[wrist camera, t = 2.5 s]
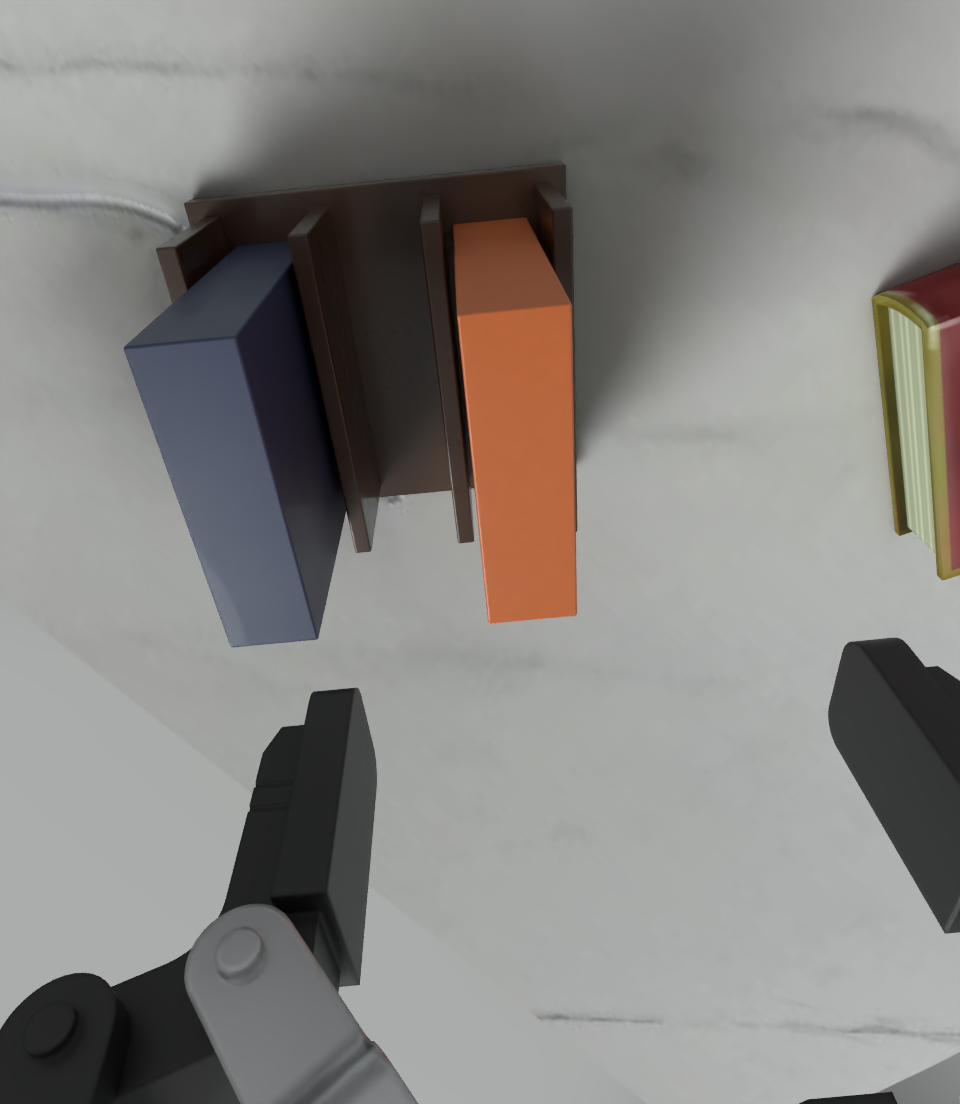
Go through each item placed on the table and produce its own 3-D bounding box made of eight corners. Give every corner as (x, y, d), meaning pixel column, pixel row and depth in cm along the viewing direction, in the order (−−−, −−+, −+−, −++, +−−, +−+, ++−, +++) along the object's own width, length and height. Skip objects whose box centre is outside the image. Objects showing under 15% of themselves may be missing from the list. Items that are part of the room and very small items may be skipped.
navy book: (294, 473, 31) (230, 648, 22) (236, 245, 26) (122, 346, 17) (355, 468, 31) (318, 640, 22) (310, 238, 26) (235, 335, 17)
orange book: (475, 456, 31) (488, 624, 22) (452, 224, 26) (456, 314, 17) (537, 450, 31) (577, 616, 22) (526, 216, 26) (572, 302, 17)
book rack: (273, 498, 32) (242, 575, 28) (190, 199, 26) (131, 231, 21) (569, 470, 32) (591, 543, 27) (562, 161, 25) (590, 185, 21)
